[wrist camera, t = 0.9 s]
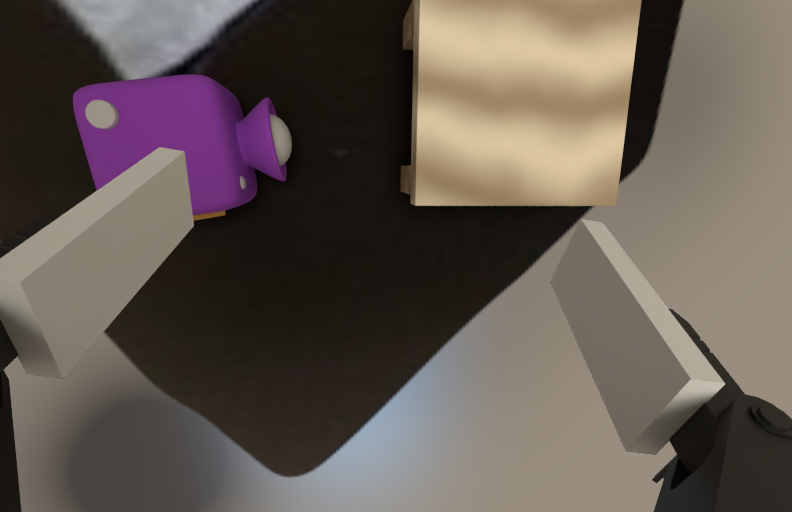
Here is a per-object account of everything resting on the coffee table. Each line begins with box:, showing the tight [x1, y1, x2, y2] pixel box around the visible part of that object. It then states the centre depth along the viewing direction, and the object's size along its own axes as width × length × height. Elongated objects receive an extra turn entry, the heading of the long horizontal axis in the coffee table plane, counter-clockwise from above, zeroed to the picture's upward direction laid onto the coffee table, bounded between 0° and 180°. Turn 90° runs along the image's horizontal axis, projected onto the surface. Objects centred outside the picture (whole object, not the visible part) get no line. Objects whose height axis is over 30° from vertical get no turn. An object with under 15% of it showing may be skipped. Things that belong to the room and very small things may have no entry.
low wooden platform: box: [401, 0, 641, 206], centre depth 34 cm, size 16×16×10 cm
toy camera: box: [73, 74, 292, 221], centre depth 32 cm, size 11×14×10 cm
